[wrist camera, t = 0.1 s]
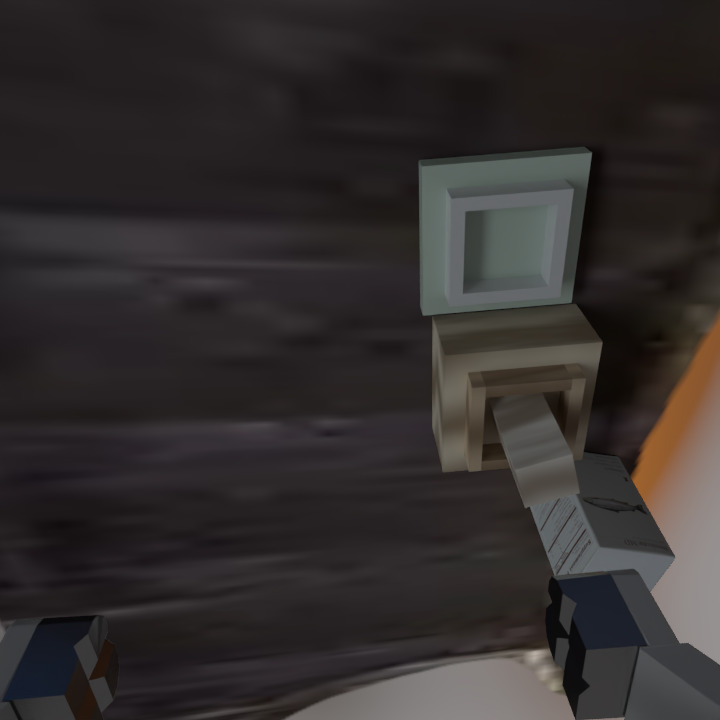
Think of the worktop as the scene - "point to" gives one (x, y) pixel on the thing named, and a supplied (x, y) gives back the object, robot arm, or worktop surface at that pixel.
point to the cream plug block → (534, 448)
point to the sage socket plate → (500, 229)
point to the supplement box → (602, 525)
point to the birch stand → (509, 377)
